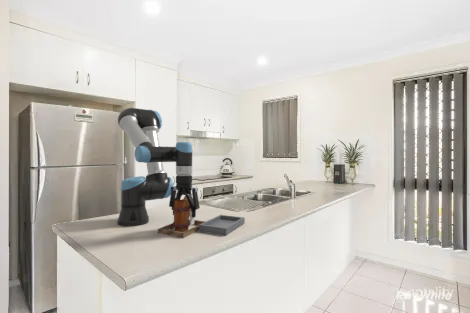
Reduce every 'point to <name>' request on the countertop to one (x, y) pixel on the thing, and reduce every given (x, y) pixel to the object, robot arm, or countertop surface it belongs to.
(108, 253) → the countertop surface
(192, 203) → the robot arm
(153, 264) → the countertop surface
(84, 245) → the countertop surface
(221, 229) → the tray
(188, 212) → the mug
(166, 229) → the wooden picture frame
